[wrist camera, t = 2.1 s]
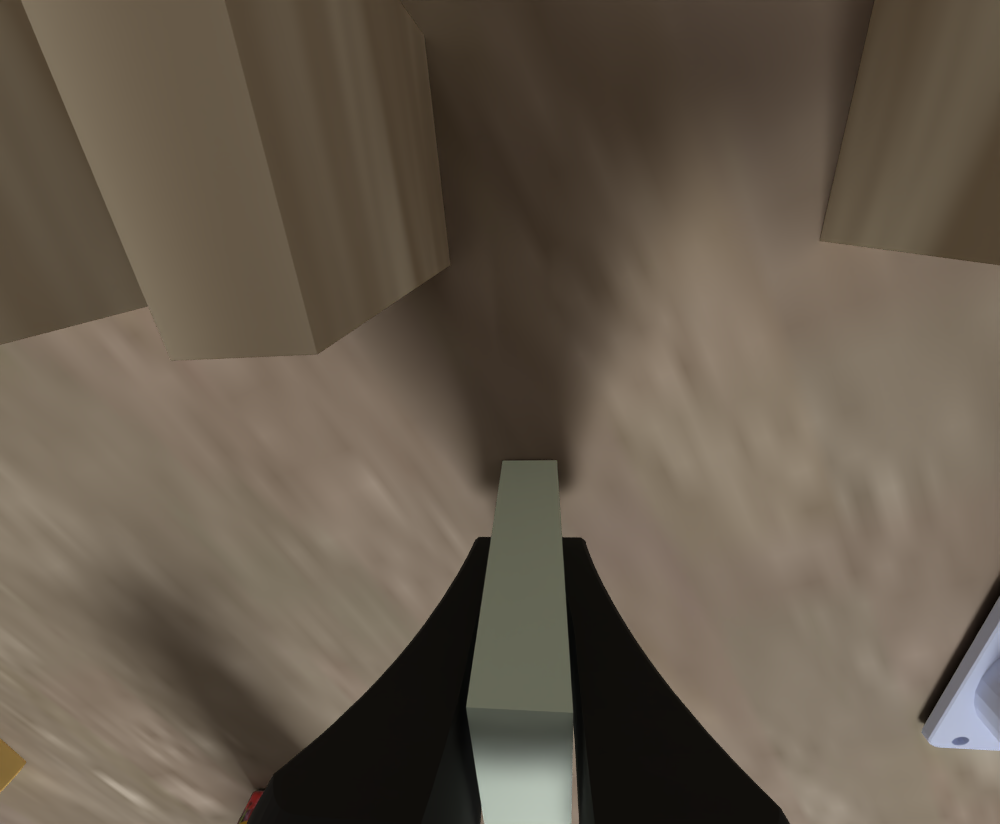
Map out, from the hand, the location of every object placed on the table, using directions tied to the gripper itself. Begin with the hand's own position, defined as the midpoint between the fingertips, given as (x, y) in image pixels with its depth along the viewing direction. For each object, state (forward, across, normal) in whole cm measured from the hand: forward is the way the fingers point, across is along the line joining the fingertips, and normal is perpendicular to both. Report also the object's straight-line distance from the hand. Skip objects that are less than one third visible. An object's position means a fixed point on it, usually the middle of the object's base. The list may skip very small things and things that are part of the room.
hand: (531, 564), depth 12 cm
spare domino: (+2, 0, 0) cm, 2 cm away
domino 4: (+2, +2, -10) cm, 10 cm away
